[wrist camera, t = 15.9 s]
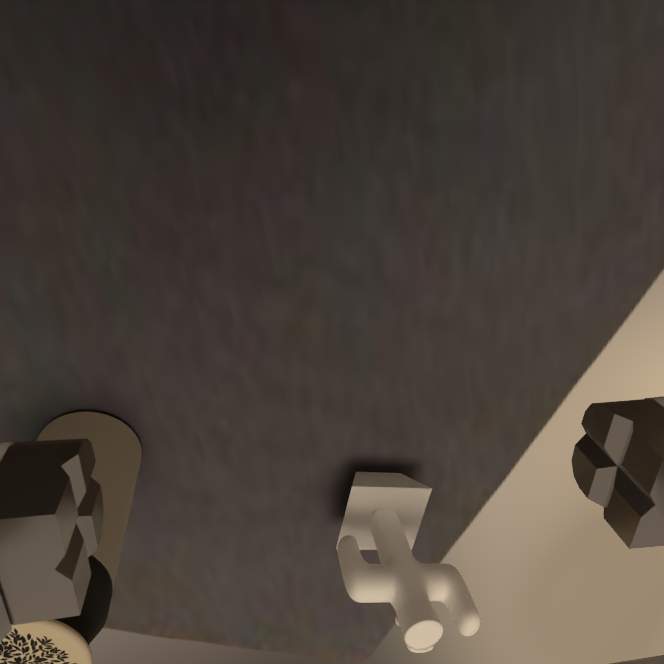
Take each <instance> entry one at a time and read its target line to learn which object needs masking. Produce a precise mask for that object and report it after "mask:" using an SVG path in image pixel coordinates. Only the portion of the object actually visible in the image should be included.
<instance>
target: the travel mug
mask: <svg viewBox="0 0 664 664" xmlns="http://www.w3.org/2000/svg"><path fill="white" fill-rule="evenodd" d="M86 438H87V439H88V440H89V441H90V442H91V443H92V446H93V451H94V455H95V459H96V462H95V465H94V469H93V472H92V475H91V477H92V478H93V479H94V480H95V481H97V482H98V483H99V484H100V485H101V491H102V496H103V511H104V514H103V525H102V534H101V538H100V542H99V546H98V549H97V550H96V551H95V552H94V553H93V554H92V555H91V556H90V557H88V561H89V566H90V570H91V577H90V581H89V584H88V588H87V592H86V595H85V599H84V603H83V607H82V610H81V614H80V615H79V616H73V617H66V618H59V619H52V620H46V621H39V622H32V623H25V624H19V625H12V626H11V627H12V630H11V631H10V632H9V633H8V634H7V635H6V637H5V638H4V639H3V640H2V641H1V642H0V664H92V653H91V650H90V647H89V643H90V642H91V641H92V640H93V639H94V638H95V637H96V635H97V634H98V633H99V632H100V631H101V629H102V628H103V626H104V624H105V622H106V619H107V615H108V611H109V606H110V601H111V597H112V592H113V588H114V583H115V578H116V574H117V569H118V565H119V560H120V555H121V551H122V546H123V542H124V537H125V532H126V528H127V523H128V519H129V514H130V509H131V505H132V500H133V495H134V491H135V486H136V482H137V477H138V472H139V468H140V463H141V459H142V449H141V445H140V442H139V440H138V438H137V436H136V435H135V433H134V432H133V431H132V430H131V429H130V428H129V427H128V426H127V425H126V424H124V423H123V422H121V421H120V420H118V419H116V418H114V417H111V416H109V415H106V414H102V413H96V412H76V413H71V414H67V415H64V416H61V417H59V418H57V419H55V420H53V421H52V422H50V423H49V424H48V425H47V426H46V427H45V428H44V429H43V430H42V431H41V433H40V435H39V436H38V438H37V440H36V441H46V440H66V439H86Z"/></svg>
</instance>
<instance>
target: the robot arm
mask: <svg viewBox="0 0 664 664" xmlns="http://www.w3.org/2000/svg"><path fill="white" fill-rule="evenodd" d="M582 426H583V428H584V429H585V432H586V434H585V435H584V436H583V437H582V438H581V439H580V440H579V441H578V443H577V444H576V445H575V448H574V453H573V457H572V466H573V473H574V477H575V479H576V482H577V484H578V486H579V488H580V489H581V490H582V492H583V493H584V494H585V495H586V497H587V498H588V499H590V500H592V501H594V502H596V503H598V504H599V505H601V506H603V507H604V519H605V520H606V521H607V522H608V523H609V525H610V526H611V527H612V528H613V530H614V531H615V532H616V533H617V534H618V536H619V537H620V538H621V539H622V540H623V542H625V544H626V545H627V546H628V548H629V549H631V548H642V547H653V546H664V397H655V398H645V399H642V400H630V401H617V402H605V403H592V404H591V405H590V406H589V407H588V409H587V410H586V411H585V414H584V417H583V420H582ZM95 462H96V459H95V455H94V451H93V446H92V443H91V442H90V441H89V440H88V439H87V438H86V439H66V440H46V441H26V442H15V443H12V442H9V443H0V642H1V641H2V640H3V639H4V638H5V637H6V635H7V634H8V633H9V632H10V631H11V630H12V627H11V626H12V625H19V624H25V623H32V622H39V621H46V620H52V619H59V618H66V617H73V616H79V615H80V614H81V610H82V607H83V603H84V599H85V595H86V592H87V588H88V584H89V581H90V577H91V570H90V566H89V561H88V557H90V556H91V555H92V554H93V553H94V552H95V551H96V550H97V549H98V546H99V542H100V538H101V534H102V525H103V514H104V511H103V496H102V491H101V485H100V484H99V483H98V482H97V481H95V480H94V479H93V478H92V477H91V475H92V472H93V469H94V465H95ZM611 664H664V655H661V656H655V657H648V658H643V659H636V660H630V661H624V662H618V663H611Z"/></svg>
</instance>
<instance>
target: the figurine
mask: <svg viewBox="0 0 664 664" xmlns="http://www.w3.org/2000/svg"><path fill="white" fill-rule="evenodd" d="M431 490H432V488H430V487H428V486H426V485H424V484H422V483H419V482H417V481H415V480H413V479H411V478H409V477H407V476H405V475H403V474H401V473H381V472H356V473H355V477H354V480H353V484H352V488H351V492H350V496H349V500H348V503H347V507H346V511H345V515H344V519H343V523H342V527H341V531H340V535H339V539H338V543H337V547H336V550H337V552H338V558H339V562H340V567H341V571H342V575H343V580H344V584H345V587H346V590H347V592H348V594H349V596H350V597H351V599H353V600H354V601H356V602H361V603H372V602H390V603H391V604H392V606H393V607H394V609H395V611H396V614H397V615H396V618H395V622H396V624H397V625H398V626H400V629H401V633H402V635H403V637H404V640H405V642H406V646H407V648H408V649H409V650H410V651H412V652H416V653H423V652H427V651H430V650H432V649H433V644H435V643H436V642H437V641H438V640H439V639H440V638H441V636H442V633H443V627H442V625H441V623H440V620H439V618H438V616H437V614H436V612H435V610H434V608H433V607H432V605H431V602H430V601H441V602H442V603H444V604H445V605H446V607H447V608H448V610H449V611H450V613H451V615H452V617H453V619H454V622H455V624H456V626H457V629H458V630H459V632H460V633H461V634H462V635H464V636H471V635H473V634H474V633H475V632H476V631H477V630H478V628H479V625H480V617H479V613H478V611H477V608H476V606H475V604H474V602H473V600H472V597H471V595H470V593H469V591H468V589H467V586H466V584H465V582H464V580H463V578H462V576H461V575H460V573H459V572H458V570H457V569H456V568H455V567H453V566H452V565H449V564H422V563H419V562H418V561H416V560H415V558H414V557H413V554H412V552H411V550H412V548H413V545H414V542H415V538H416V535H417V532H418V529H419V526H420V523H421V520H422V517H423V514H424V511H425V508H426V505H427V502H428V499H429V496H430V493H431ZM360 550H377V552H378V555H379V559H380V562H381V564H368V563H367V562H366V561H365V560H364V559H363V558H362V556H361V553H360Z"/></svg>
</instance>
